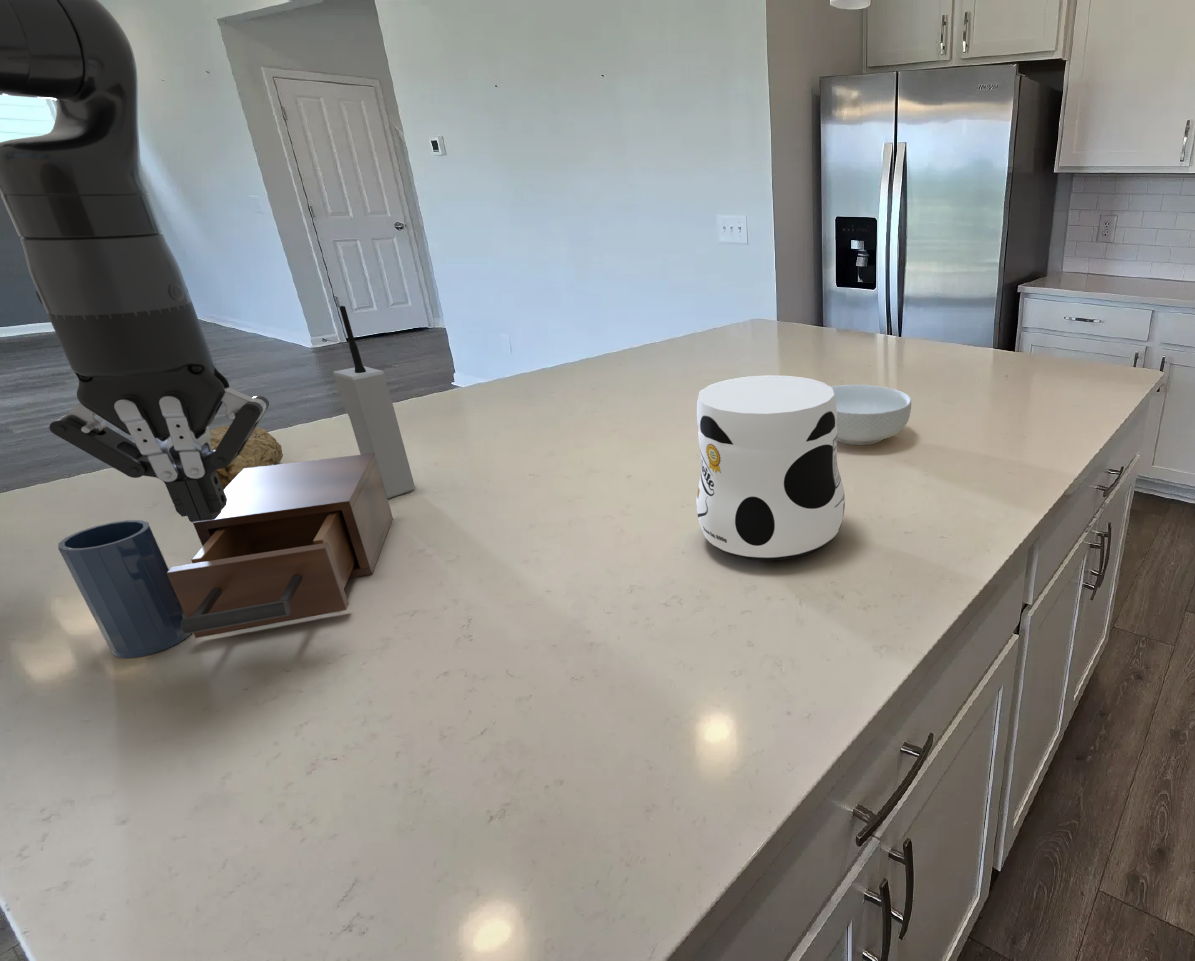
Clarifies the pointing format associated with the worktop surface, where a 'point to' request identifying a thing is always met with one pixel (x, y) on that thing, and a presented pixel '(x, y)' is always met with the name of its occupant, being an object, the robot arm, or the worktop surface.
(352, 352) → the vintage mobile phone
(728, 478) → the milk container
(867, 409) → the cereal bowl
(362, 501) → the cabinet
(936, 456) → the worktop surface
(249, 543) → the drawer
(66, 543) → the utensil crock
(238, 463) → the sponge
